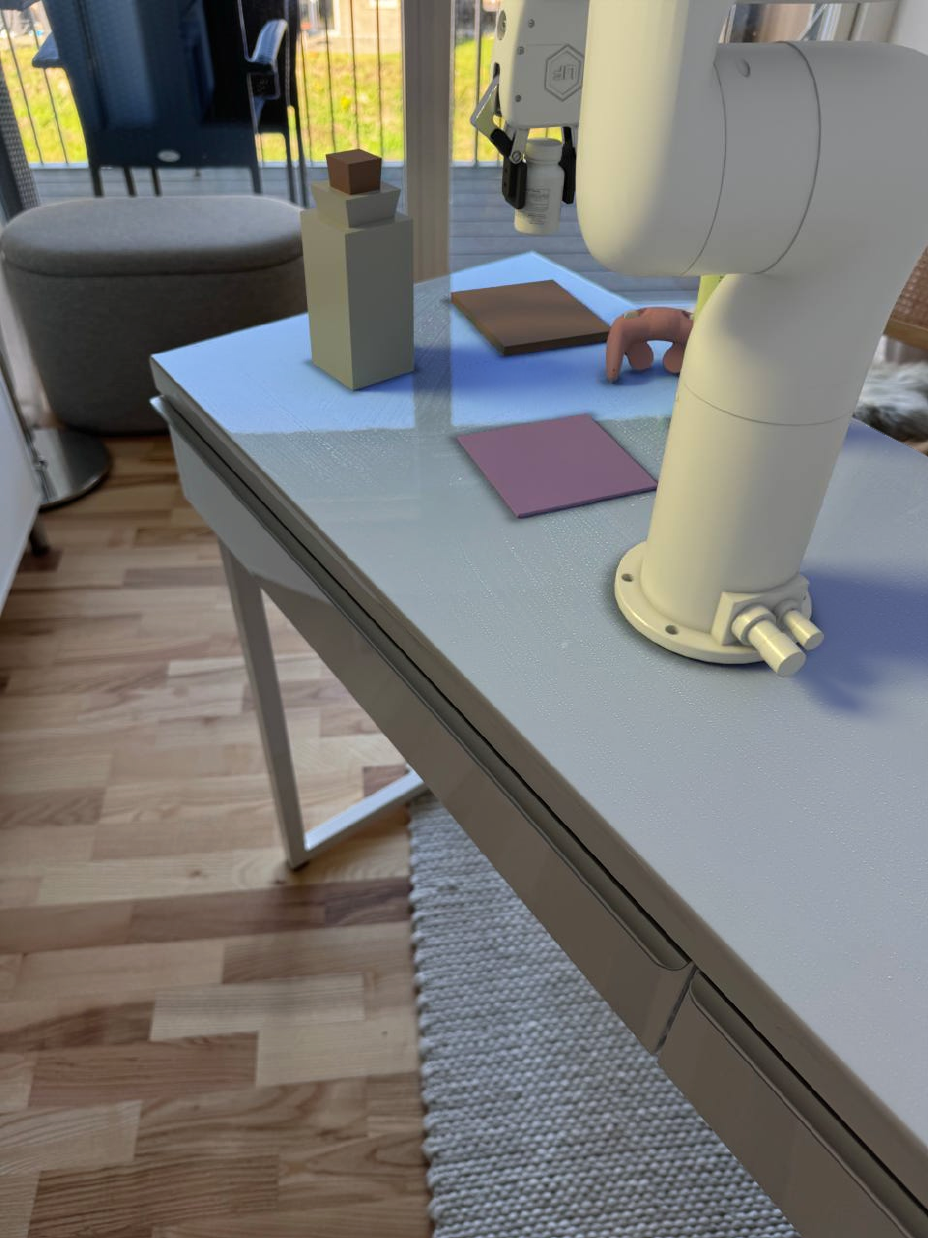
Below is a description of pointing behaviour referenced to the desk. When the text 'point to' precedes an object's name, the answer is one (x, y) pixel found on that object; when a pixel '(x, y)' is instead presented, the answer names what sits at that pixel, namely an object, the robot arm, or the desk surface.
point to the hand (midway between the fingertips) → (538, 200)
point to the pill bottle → (541, 188)
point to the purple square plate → (555, 464)
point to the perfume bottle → (359, 273)
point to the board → (530, 317)
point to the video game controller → (648, 338)
